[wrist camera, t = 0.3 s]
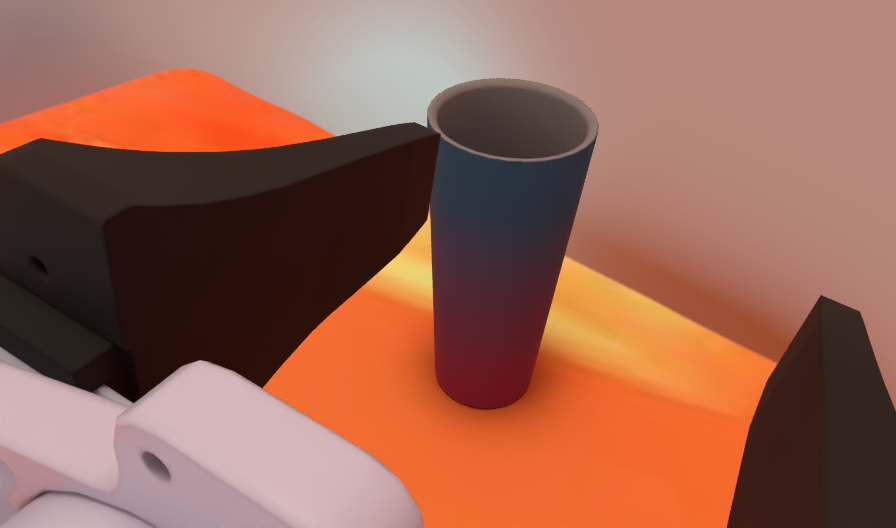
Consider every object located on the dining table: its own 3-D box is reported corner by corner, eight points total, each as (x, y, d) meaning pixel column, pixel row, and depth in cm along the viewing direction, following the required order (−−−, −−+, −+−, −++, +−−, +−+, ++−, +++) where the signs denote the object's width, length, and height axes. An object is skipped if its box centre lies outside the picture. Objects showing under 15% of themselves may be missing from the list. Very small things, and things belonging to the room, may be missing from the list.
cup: (547, 333, 41) (594, 85, 32) (547, 431, 36) (603, 169, 26) (427, 320, 42) (437, 71, 32) (409, 415, 36) (415, 151, 27)
